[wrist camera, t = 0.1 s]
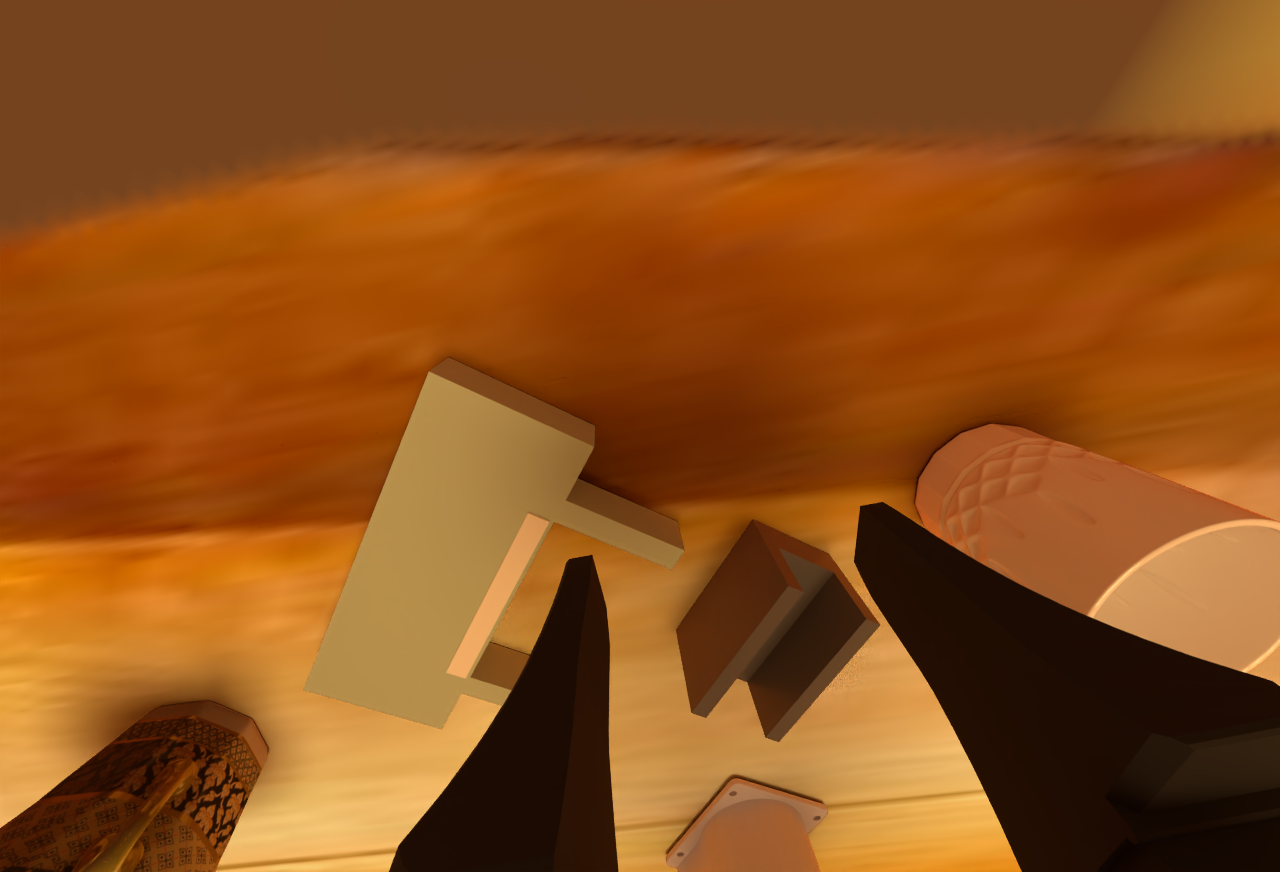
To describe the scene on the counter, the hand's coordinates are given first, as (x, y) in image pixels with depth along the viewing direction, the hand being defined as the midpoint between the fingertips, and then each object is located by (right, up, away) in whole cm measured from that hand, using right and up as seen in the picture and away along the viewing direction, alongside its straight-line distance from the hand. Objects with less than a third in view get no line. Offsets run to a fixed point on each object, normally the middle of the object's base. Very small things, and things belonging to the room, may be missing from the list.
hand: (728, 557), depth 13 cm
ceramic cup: (-26, -13, +15) cm, 33 cm away
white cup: (+15, +1, +12) cm, 19 cm away
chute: (+4, -5, +14) cm, 15 cm away
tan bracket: (-9, -4, +12) cm, 15 cm away
